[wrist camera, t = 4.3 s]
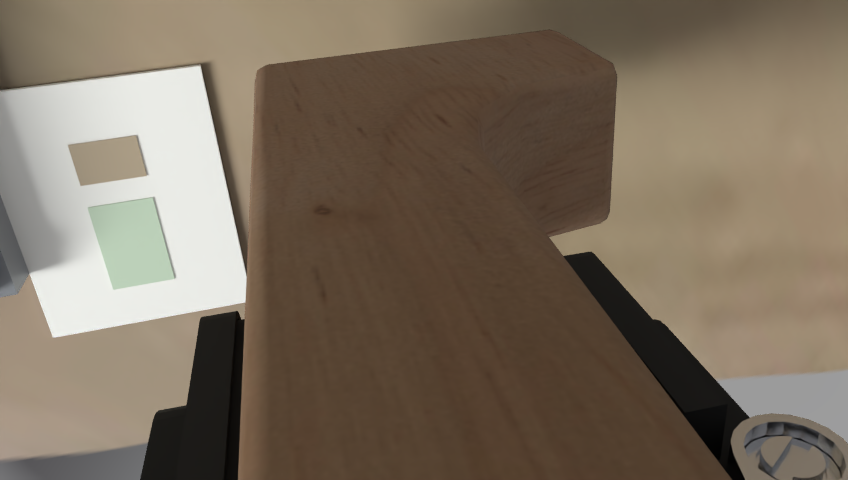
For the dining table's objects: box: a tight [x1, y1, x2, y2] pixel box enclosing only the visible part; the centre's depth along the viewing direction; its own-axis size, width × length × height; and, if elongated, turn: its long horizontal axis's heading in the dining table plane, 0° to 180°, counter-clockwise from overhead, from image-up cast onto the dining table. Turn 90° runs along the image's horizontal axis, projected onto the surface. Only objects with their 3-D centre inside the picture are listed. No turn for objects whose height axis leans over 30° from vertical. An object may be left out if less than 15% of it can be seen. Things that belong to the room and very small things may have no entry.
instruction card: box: [0, 64, 247, 338], centre depth 28 cm, size 8×10×1 cm
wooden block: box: [238, 30, 732, 480], centre depth 14 cm, size 9×4×18 cm, turn 95°
